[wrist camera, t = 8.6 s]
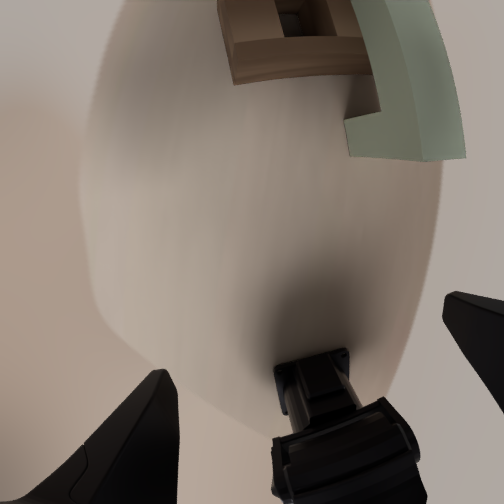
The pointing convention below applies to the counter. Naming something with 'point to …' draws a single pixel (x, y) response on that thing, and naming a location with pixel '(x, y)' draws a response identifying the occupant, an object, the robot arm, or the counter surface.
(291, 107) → the counter surface
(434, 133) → the green block
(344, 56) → the brown cubby organizer
